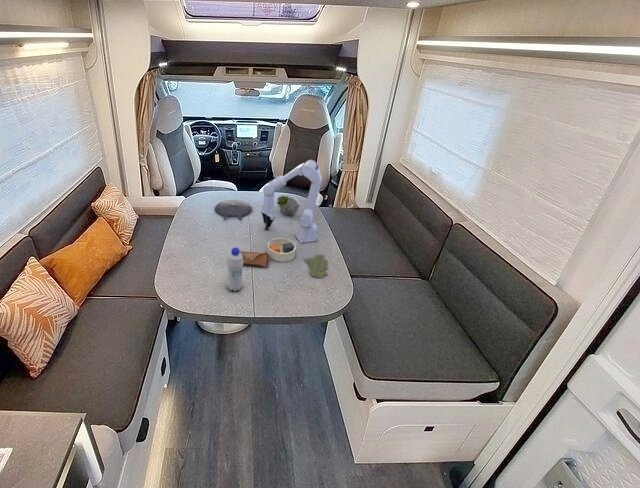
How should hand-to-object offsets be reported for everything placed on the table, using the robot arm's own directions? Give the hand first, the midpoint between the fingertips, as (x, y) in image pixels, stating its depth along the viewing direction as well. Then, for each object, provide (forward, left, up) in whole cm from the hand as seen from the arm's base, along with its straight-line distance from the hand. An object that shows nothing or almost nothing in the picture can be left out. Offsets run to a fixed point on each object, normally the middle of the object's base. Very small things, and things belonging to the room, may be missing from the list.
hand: (267, 224), depth 180 cm
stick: (0, 0, -3) cm, 3 cm away
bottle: (+31, +43, -3) cm, 53 cm away
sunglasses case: (+19, +27, -3) cm, 33 cm away
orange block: (+5, +24, -2) cm, 25 cm away
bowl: (+2, +24, -3) cm, 25 cm away
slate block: (-2, +24, -2) cm, 25 cm away
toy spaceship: (+13, -27, -3) cm, 30 cm away
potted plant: (-19, -16, -3) cm, 25 cm away
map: (-11, +37, -3) cm, 39 cm away
